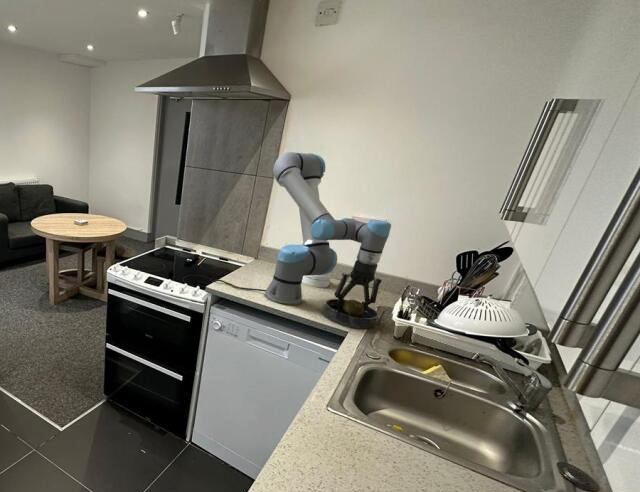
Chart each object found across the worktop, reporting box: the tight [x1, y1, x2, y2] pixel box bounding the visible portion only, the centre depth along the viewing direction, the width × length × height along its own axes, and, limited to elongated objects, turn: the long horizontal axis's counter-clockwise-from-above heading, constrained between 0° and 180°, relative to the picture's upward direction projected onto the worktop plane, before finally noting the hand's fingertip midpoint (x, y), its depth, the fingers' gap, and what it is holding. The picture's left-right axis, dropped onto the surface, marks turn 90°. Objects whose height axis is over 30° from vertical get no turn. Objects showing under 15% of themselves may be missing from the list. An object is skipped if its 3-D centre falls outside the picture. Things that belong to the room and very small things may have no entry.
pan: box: [322, 298, 380, 329], centre depth 157 cm, size 19×19×4 cm
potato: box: [342, 299, 364, 317], centre depth 156 cm, size 8×13×8 cm, turn 149°
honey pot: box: [301, 271, 332, 288], centre depth 193 cm, size 13×13×18 cm
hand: (348, 315), depth 158 cm, fingers closed on potato, 7 cm apart
